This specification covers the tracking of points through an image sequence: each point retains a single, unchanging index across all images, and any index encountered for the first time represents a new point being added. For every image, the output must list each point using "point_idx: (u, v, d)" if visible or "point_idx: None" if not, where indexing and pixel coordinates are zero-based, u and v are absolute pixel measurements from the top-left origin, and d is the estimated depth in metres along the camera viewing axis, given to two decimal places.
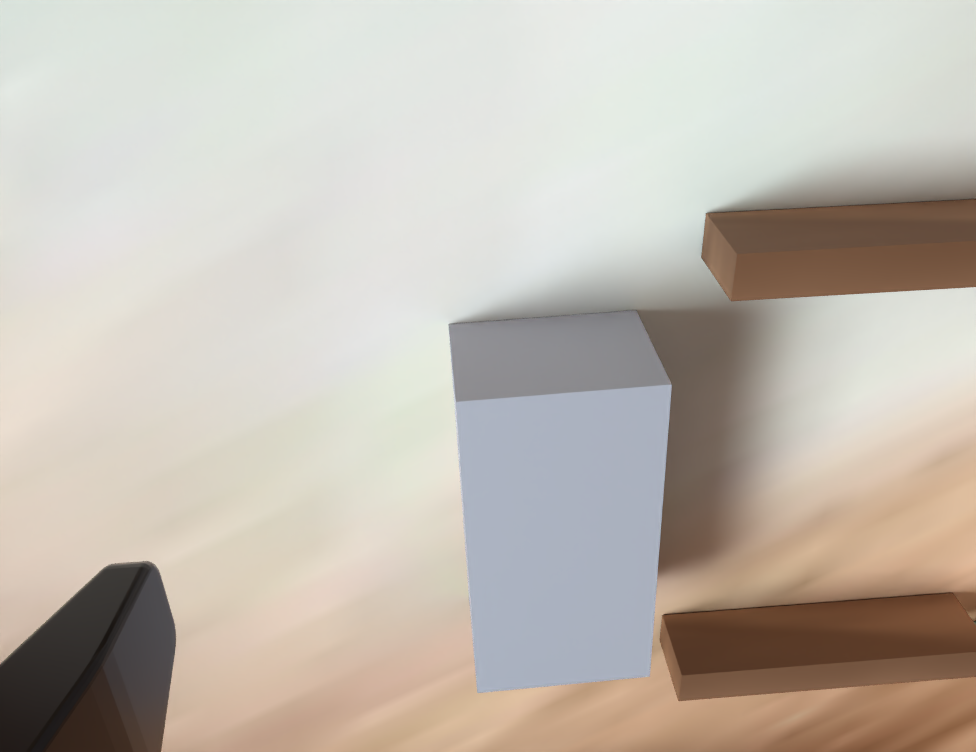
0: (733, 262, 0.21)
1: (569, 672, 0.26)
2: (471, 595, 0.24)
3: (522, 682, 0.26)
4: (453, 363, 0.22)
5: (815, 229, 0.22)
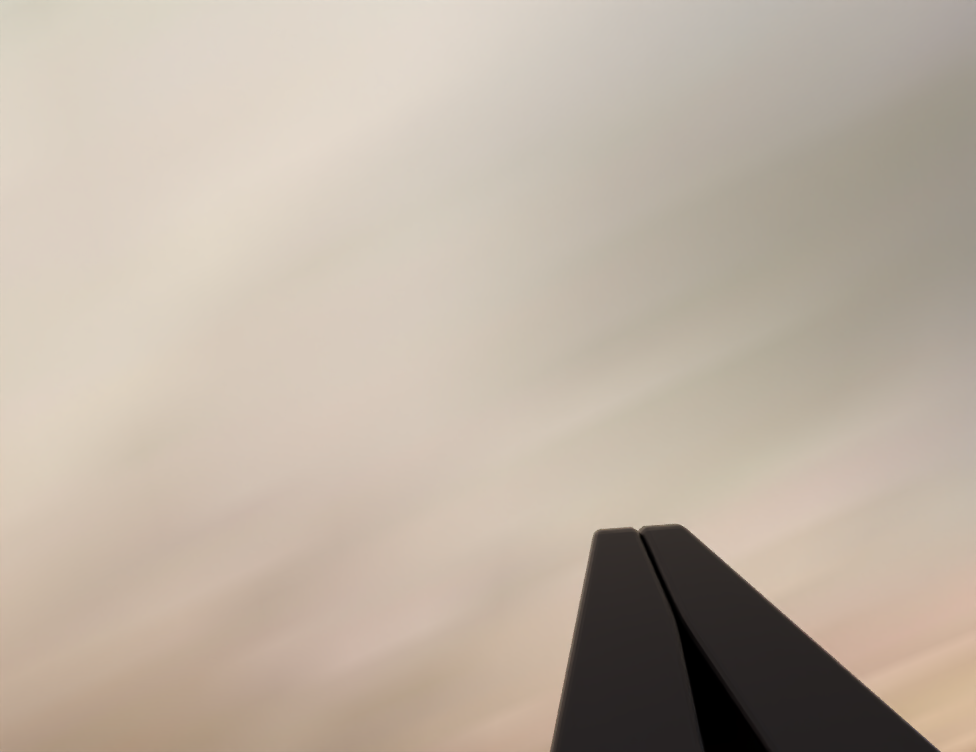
0: None
1: None
2: None
3: None
4: None
5: None
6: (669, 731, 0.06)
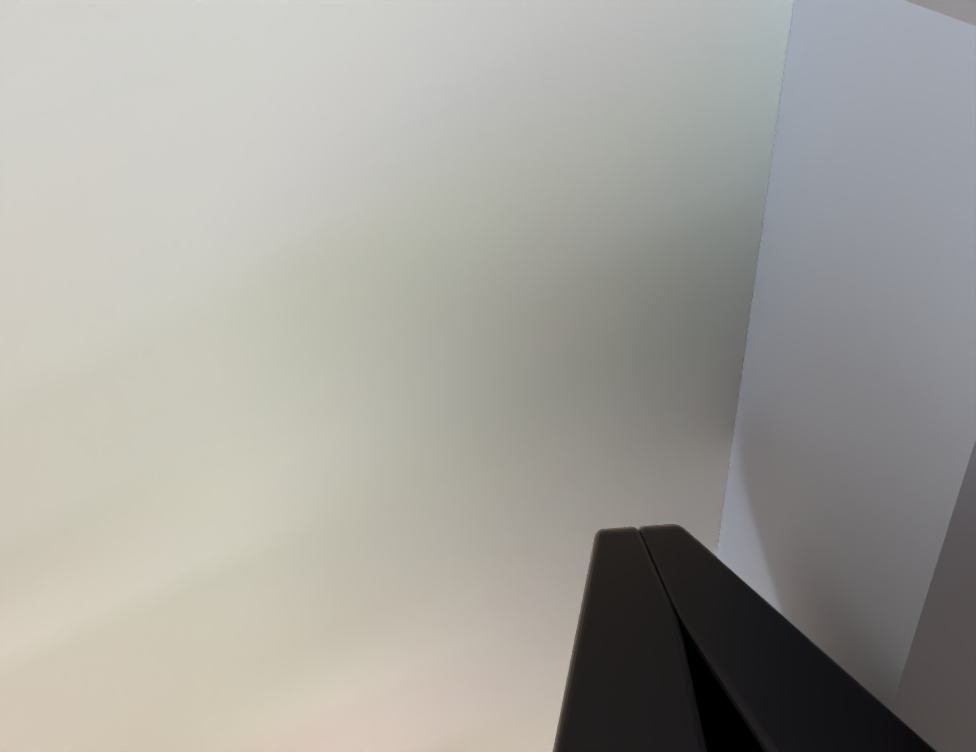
0: None
1: None
2: None
3: None
4: (921, 5, 0.06)
5: None
6: (672, 731, 0.06)
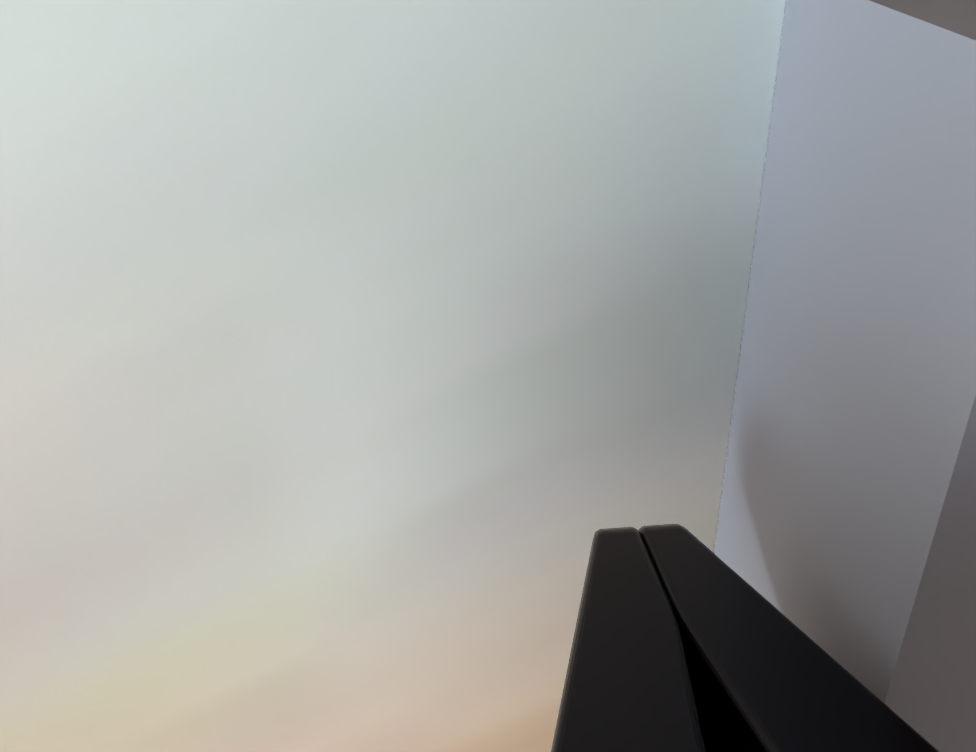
0: None
1: None
2: None
3: None
4: (907, 13, 0.06)
5: None
6: (670, 731, 0.06)
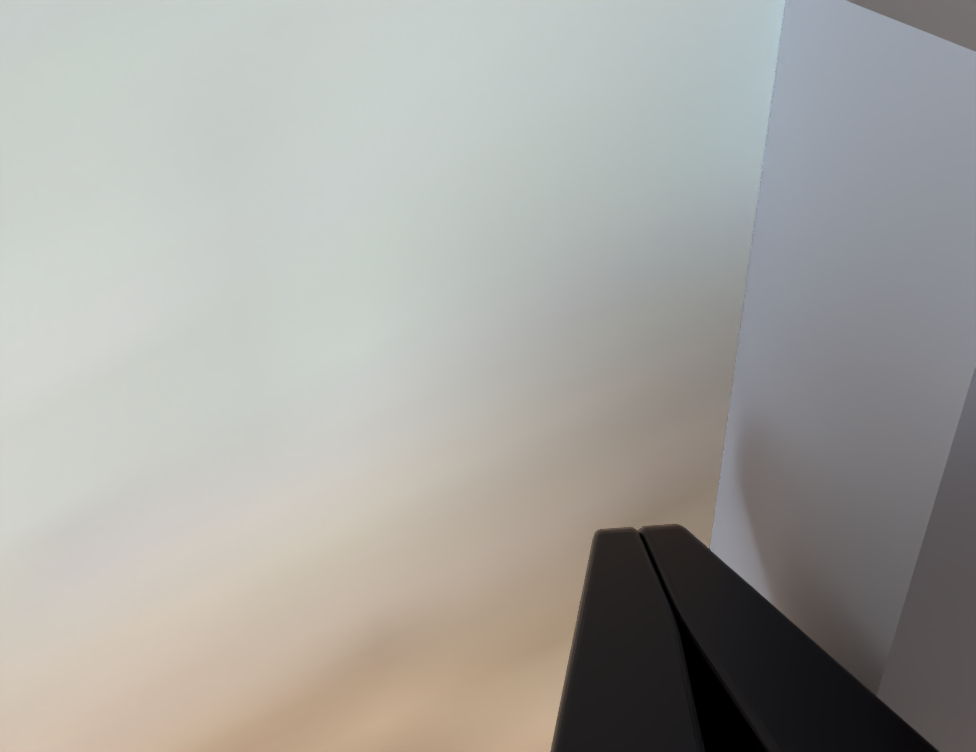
0: None
1: None
2: None
3: None
4: (901, 21, 0.06)
5: None
6: (670, 731, 0.06)
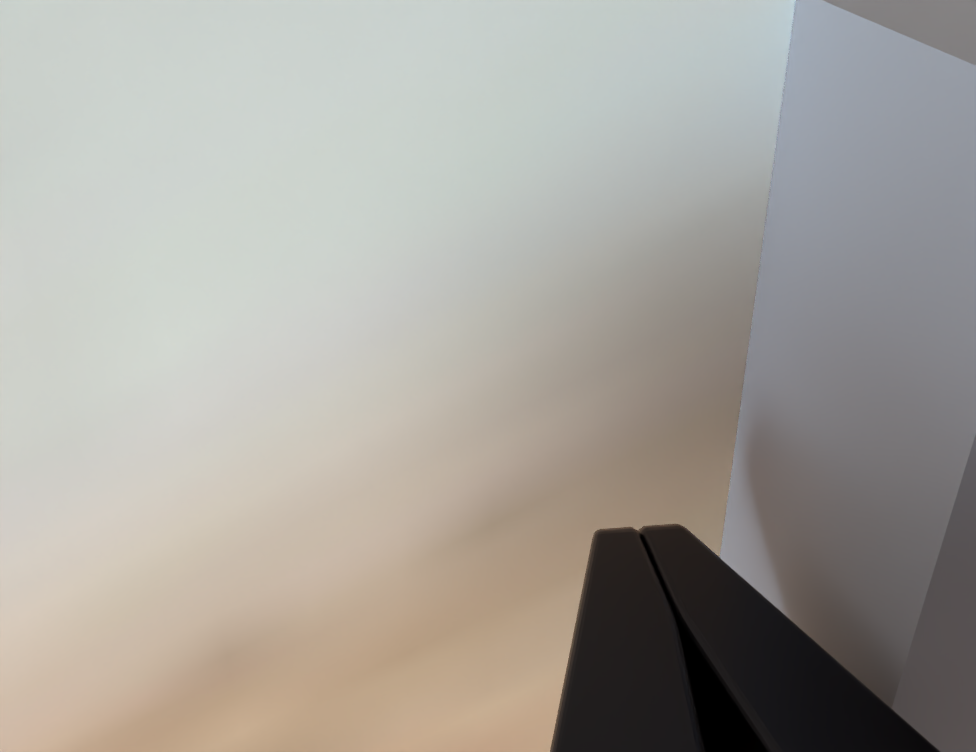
0: None
1: None
2: None
3: None
4: (913, 37, 0.06)
5: None
6: (669, 731, 0.06)
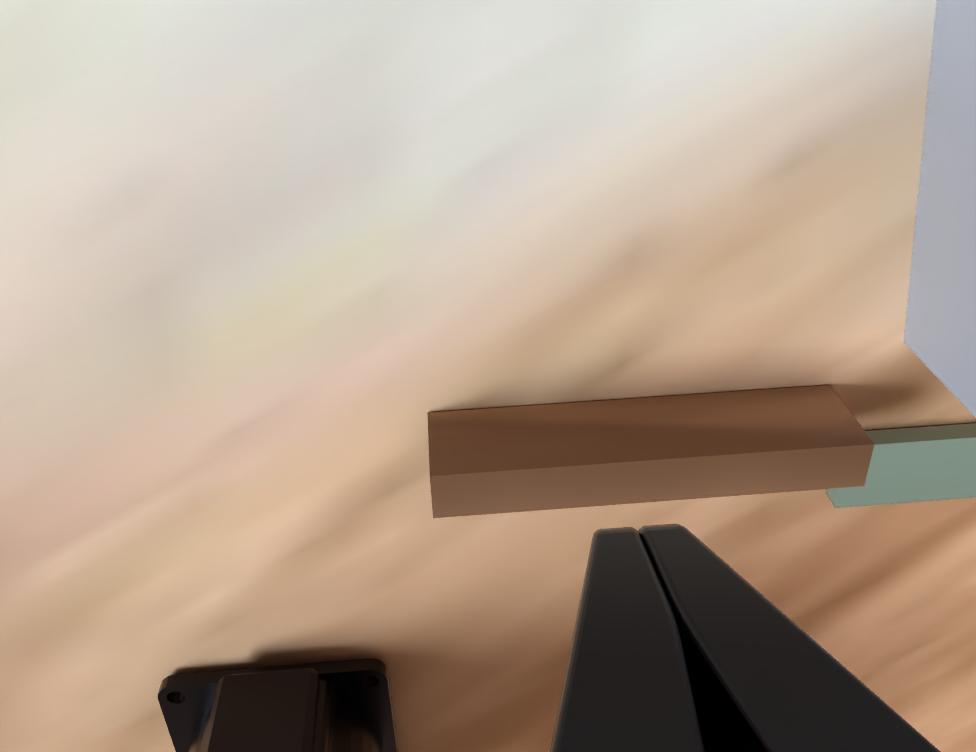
0: None
1: None
2: None
3: None
4: None
5: None
6: (669, 731, 0.06)
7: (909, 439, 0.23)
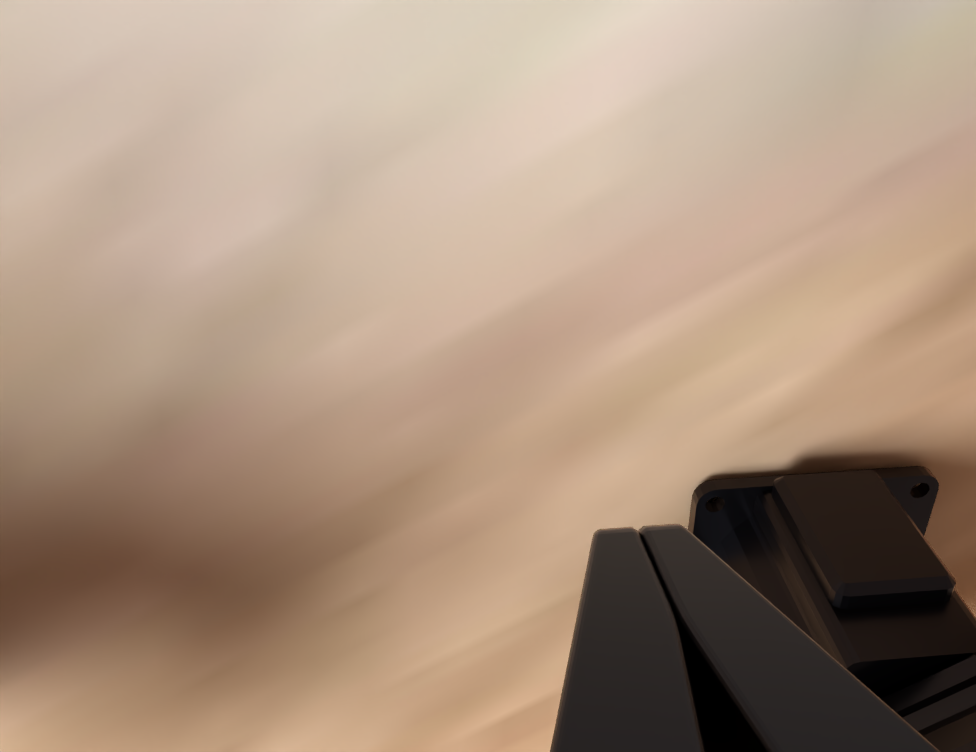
0: None
1: None
2: None
3: None
4: None
5: None
6: (669, 731, 0.06)
7: None
